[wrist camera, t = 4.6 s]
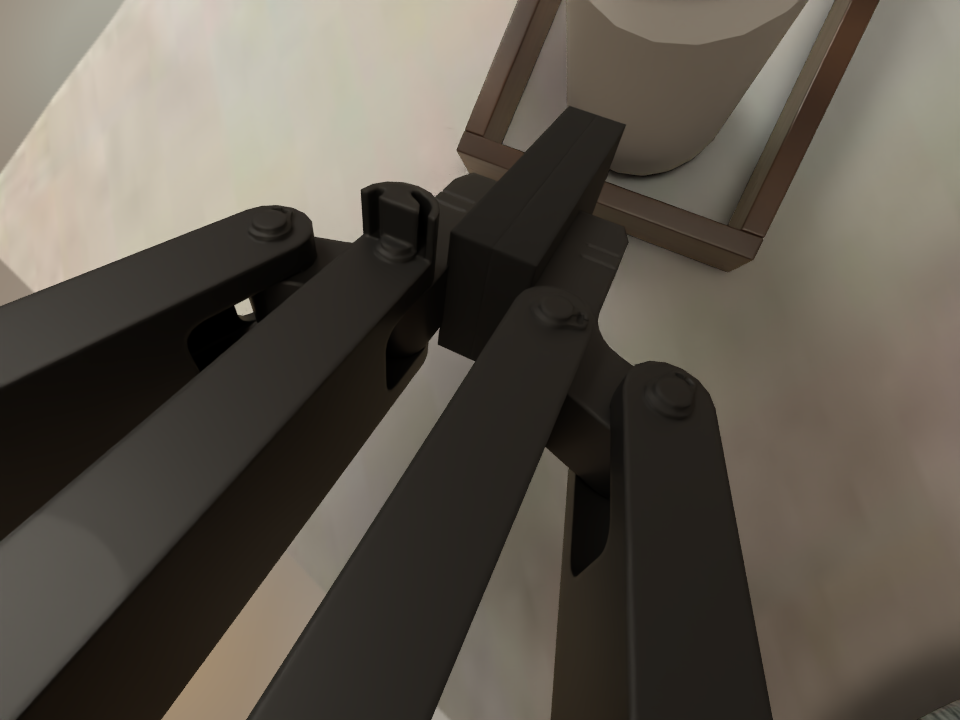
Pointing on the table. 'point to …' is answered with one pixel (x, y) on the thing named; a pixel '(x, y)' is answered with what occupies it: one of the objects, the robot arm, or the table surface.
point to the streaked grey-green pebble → (945, 712)
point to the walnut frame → (642, 212)
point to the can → (668, 69)
